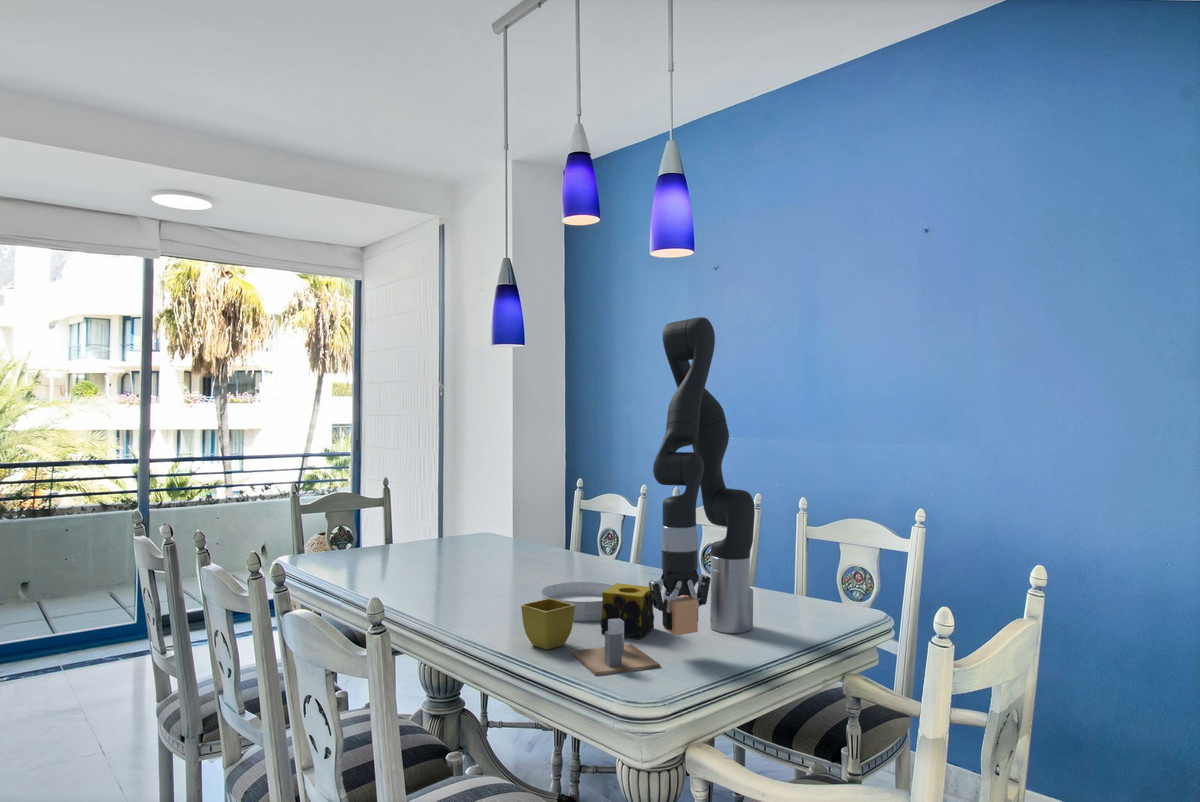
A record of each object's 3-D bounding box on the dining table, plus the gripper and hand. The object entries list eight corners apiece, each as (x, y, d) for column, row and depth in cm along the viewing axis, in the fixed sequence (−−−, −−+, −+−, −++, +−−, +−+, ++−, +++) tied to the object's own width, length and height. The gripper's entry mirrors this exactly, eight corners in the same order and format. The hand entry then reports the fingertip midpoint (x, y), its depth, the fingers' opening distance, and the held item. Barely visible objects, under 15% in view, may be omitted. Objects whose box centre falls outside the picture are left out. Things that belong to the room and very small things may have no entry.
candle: (615, 623, 181) (615, 582, 181) (654, 628, 177) (655, 586, 178) (599, 635, 172) (600, 591, 172) (641, 640, 168) (641, 595, 168)
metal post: (619, 648, 160) (619, 618, 160) (623, 651, 157) (624, 621, 158) (607, 649, 159) (608, 619, 159) (612, 653, 156) (612, 622, 157)
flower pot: (519, 645, 163) (519, 604, 163) (549, 637, 169) (550, 597, 169) (545, 654, 157) (545, 611, 157) (575, 646, 163) (576, 604, 163)
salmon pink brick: (685, 625, 160) (684, 593, 160) (697, 632, 155) (697, 599, 155) (663, 628, 158) (663, 596, 158) (675, 635, 153) (675, 602, 153)
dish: (617, 625, 181) (617, 604, 181) (529, 619, 185) (529, 598, 185) (631, 602, 202) (631, 584, 203) (553, 597, 207) (553, 579, 207)
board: (631, 646, 163) (631, 644, 163) (660, 667, 150) (660, 664, 150) (571, 653, 158) (571, 650, 158) (595, 675, 145) (595, 672, 145)
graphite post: (616, 661, 151) (616, 630, 151) (621, 665, 149) (621, 633, 149) (604, 663, 150) (605, 631, 150) (609, 667, 148) (609, 634, 148)
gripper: (699, 541, 163) (700, 618, 163) (641, 546, 157) (641, 627, 157) (718, 546, 156) (719, 627, 156) (657, 553, 150) (658, 637, 150)
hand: (680, 627), depth 157 cm, fingers closed on salmon pink brick, 5 cm apart
